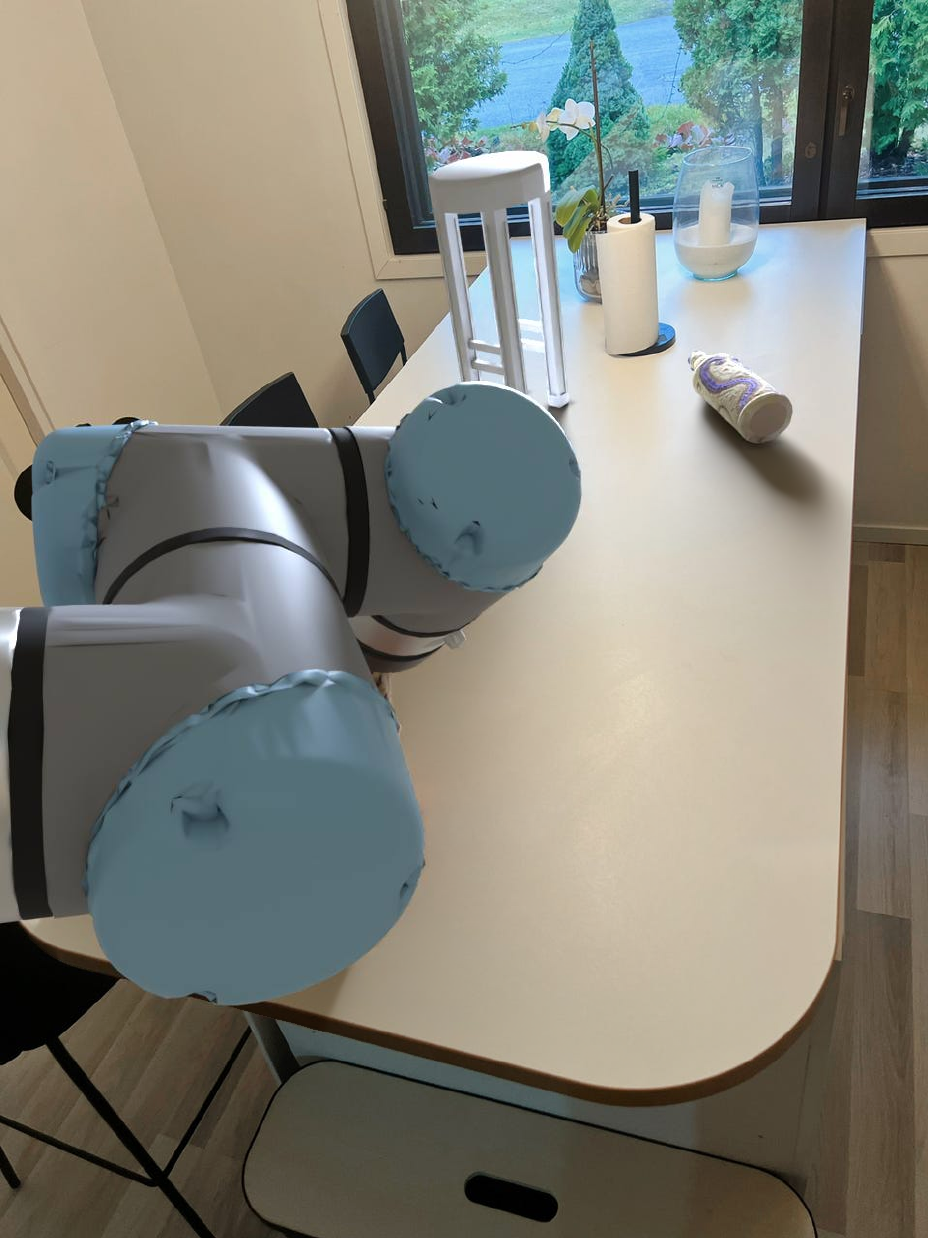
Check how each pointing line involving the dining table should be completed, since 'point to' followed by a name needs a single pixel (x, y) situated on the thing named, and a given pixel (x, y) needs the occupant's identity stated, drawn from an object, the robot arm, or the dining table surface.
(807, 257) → the dining table surface
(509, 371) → the stool
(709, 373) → the decorative bottle
